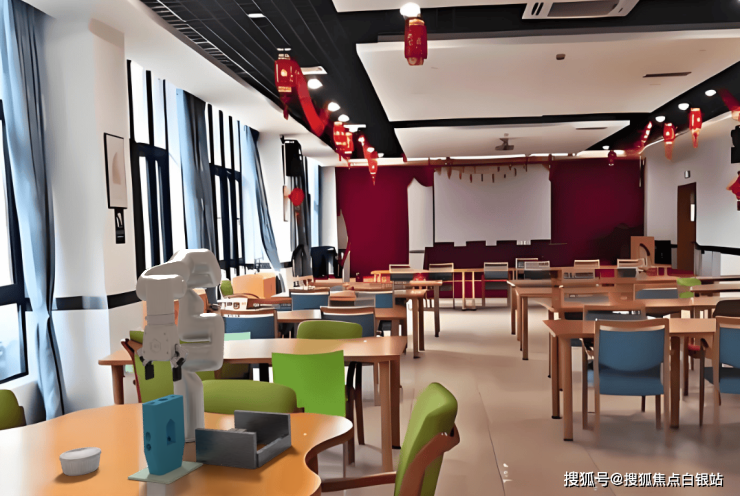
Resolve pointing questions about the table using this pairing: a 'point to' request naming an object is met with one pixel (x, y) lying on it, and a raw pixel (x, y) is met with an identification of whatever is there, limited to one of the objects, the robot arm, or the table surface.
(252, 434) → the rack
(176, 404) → the block
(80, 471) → the ramekin
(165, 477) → the mat
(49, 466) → the table surface
